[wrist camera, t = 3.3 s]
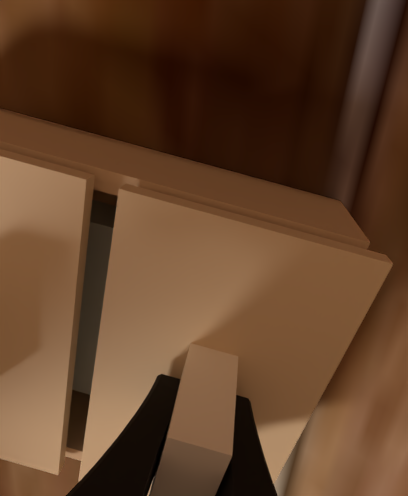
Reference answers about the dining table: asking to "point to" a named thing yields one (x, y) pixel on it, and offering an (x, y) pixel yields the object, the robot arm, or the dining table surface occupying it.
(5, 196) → the flap
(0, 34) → the dining table surface
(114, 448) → the robot arm
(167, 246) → the flap
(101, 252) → the carton
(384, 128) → the dining table surface
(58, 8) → the dining table surface
